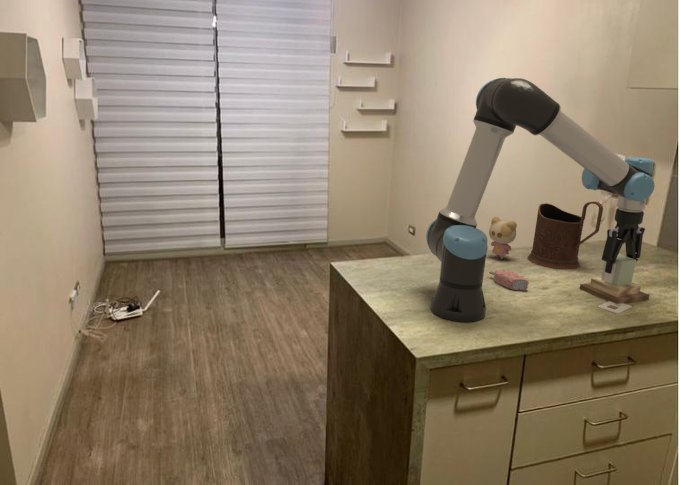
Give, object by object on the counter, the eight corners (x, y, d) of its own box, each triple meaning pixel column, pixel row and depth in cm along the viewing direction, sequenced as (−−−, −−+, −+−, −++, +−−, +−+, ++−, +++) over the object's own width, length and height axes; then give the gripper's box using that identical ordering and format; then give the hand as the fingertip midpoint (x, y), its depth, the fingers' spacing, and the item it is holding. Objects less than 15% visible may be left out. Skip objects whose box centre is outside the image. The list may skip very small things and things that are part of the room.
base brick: (616, 305, 161) (619, 292, 160) (579, 288, 174) (581, 276, 172) (648, 299, 167) (651, 287, 166) (610, 283, 179) (612, 272, 178)
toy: (481, 256, 202) (486, 217, 198) (494, 252, 208) (499, 214, 204) (504, 263, 195) (509, 223, 191) (517, 259, 201) (522, 220, 196)
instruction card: (618, 314, 155) (618, 312, 155) (597, 307, 159) (597, 305, 159) (631, 307, 160) (632, 305, 160) (611, 300, 165) (611, 299, 165)
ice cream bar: (498, 265, 181) (533, 278, 169) (496, 277, 182) (531, 291, 170) (484, 267, 178) (519, 281, 166) (482, 279, 179) (517, 294, 167)
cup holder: (547, 251, 213) (557, 188, 206) (604, 269, 194) (617, 201, 187) (516, 257, 203) (525, 192, 196) (574, 277, 184) (587, 205, 177)
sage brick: (617, 286, 165) (622, 261, 163) (601, 279, 171) (605, 255, 168) (631, 284, 168) (636, 259, 166) (614, 277, 173) (619, 254, 171)
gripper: (617, 214, 155) (604, 289, 162) (663, 210, 163) (648, 281, 170) (596, 208, 162) (584, 280, 168) (641, 204, 170) (628, 273, 176)
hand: (616, 281), depth 169 cm, fingers open, 7 cm apart
